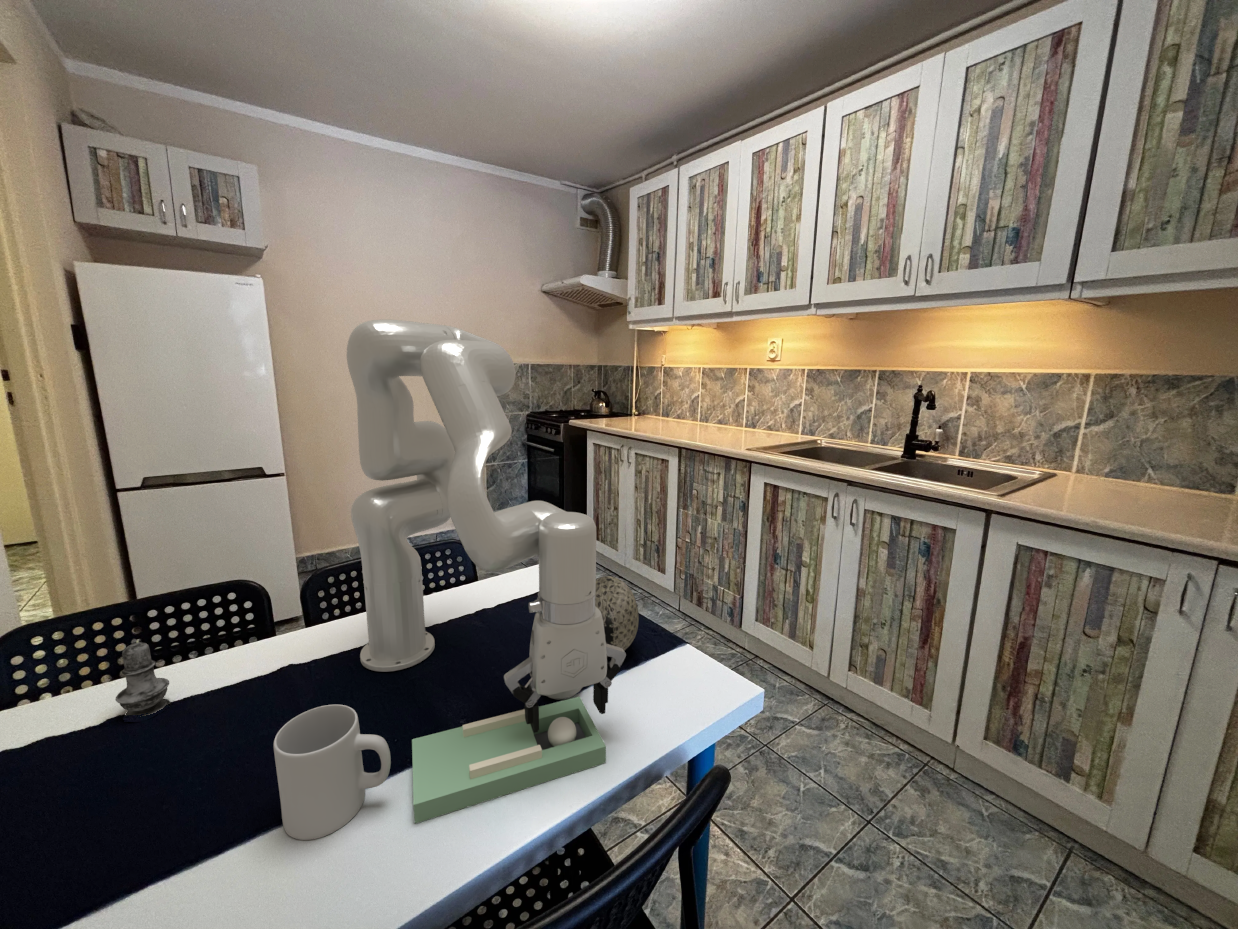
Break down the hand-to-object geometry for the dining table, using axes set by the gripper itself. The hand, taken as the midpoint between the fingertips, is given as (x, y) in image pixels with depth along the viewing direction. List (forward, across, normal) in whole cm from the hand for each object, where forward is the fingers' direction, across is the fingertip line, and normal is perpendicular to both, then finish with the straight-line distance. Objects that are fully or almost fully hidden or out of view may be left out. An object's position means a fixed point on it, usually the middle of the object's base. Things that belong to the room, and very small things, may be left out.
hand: (567, 716), depth 69 cm
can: (+4, +3, +12) cm, 13 cm away
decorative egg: (+4, +14, +19) cm, 24 cm away
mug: (+4, -28, 0) cm, 29 cm away
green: (+4, -8, 0) cm, 9 cm away
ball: (+2, -1, 0) cm, 2 cm away
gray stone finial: (+4, -57, +30) cm, 65 cm away
